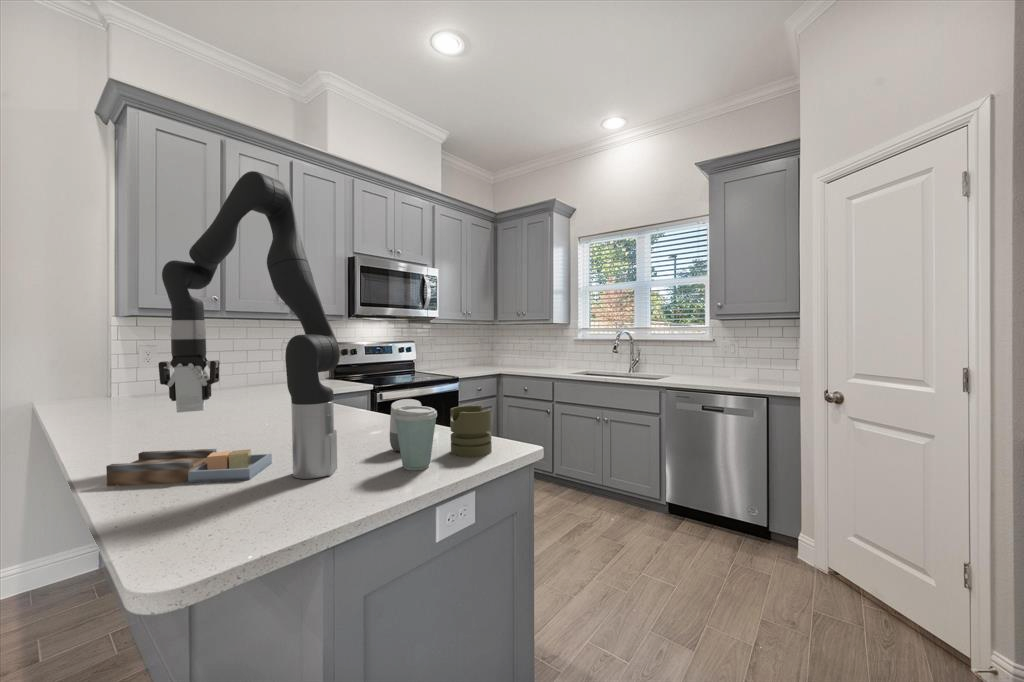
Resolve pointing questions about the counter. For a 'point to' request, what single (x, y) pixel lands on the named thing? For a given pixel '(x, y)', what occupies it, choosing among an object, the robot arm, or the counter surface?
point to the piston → (470, 431)
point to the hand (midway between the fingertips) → (190, 399)
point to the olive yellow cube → (240, 459)
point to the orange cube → (218, 460)
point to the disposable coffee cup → (415, 435)
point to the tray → (230, 471)
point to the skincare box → (188, 390)
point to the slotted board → (154, 475)
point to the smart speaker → (393, 429)
